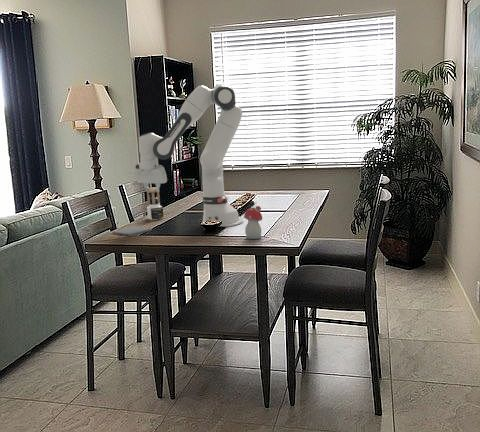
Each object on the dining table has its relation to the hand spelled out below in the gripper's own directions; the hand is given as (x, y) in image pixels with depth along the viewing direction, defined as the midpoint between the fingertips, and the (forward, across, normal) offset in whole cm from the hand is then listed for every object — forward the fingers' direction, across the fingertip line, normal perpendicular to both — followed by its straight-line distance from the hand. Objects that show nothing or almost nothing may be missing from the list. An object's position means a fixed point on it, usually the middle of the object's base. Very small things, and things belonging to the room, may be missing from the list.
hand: (152, 191), depth 286 cm
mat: (+19, +4, +14) cm, 23 cm away
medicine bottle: (+19, +19, -16) cm, 31 cm away
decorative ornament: (+20, -62, -3) cm, 66 cm away
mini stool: (+6, 0, 0) cm, 6 cm away
